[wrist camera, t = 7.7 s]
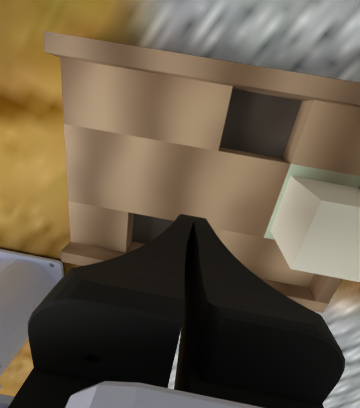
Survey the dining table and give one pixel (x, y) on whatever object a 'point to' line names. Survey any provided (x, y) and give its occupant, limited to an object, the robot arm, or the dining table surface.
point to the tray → (197, 151)
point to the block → (320, 228)
